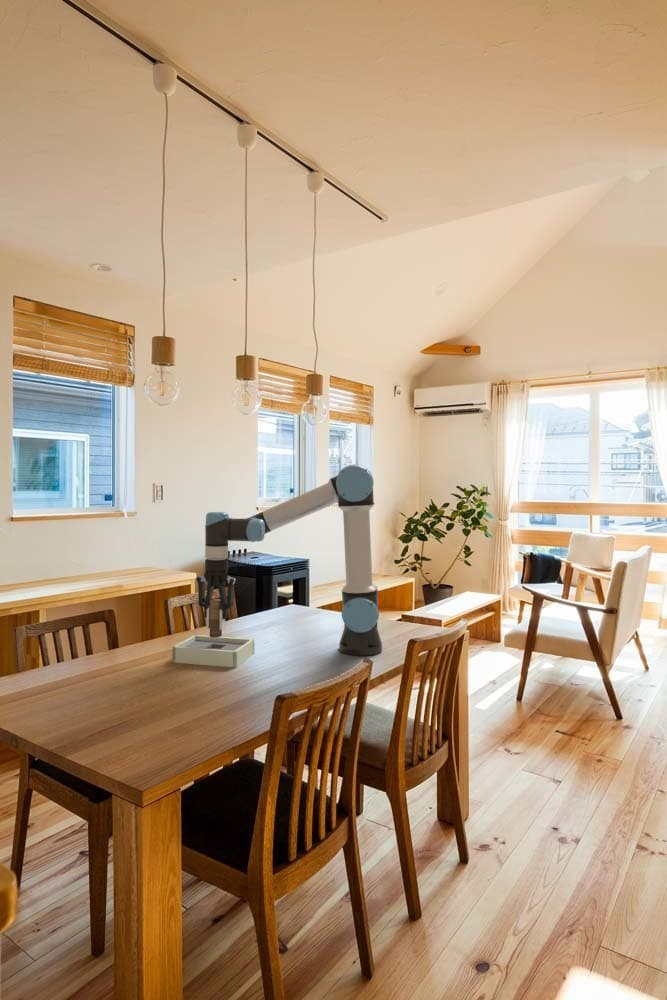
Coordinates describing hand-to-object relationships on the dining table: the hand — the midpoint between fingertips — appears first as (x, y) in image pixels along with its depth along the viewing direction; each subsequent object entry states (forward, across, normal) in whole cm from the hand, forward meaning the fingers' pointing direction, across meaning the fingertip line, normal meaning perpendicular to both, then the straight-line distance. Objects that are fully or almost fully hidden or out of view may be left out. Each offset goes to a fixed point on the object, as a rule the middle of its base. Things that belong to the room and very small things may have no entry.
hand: (215, 627), depth 203 cm
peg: (+3, 0, 0) cm, 3 cm away
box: (+10, 0, +1) cm, 10 cm away
